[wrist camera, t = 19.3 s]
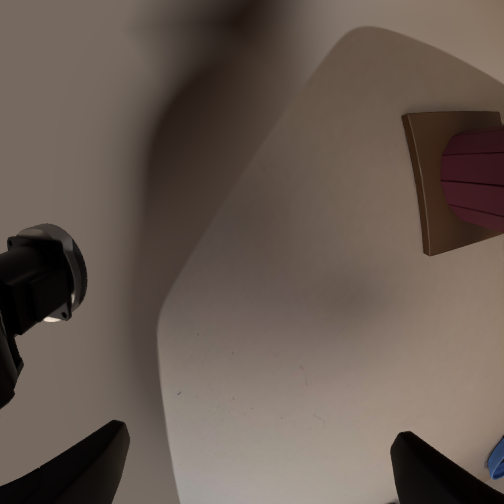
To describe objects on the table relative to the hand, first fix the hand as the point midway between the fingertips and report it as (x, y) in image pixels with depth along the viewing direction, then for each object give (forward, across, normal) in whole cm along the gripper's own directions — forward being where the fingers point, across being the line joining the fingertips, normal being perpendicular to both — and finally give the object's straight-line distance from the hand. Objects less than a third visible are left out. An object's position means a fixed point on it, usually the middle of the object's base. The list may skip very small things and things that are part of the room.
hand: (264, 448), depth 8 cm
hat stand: (+13, -15, -10) cm, 22 cm away
